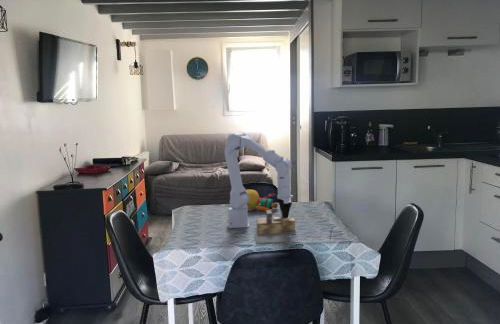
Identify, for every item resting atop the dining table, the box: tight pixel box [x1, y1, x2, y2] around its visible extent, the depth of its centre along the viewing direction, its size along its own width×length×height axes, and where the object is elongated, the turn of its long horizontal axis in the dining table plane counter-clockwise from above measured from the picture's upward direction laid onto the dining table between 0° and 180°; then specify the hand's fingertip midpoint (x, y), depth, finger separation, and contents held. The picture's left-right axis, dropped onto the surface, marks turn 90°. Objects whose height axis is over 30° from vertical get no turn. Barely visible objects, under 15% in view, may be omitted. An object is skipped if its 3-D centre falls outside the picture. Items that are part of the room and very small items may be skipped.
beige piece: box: [272, 210, 290, 221], centre depth 202 cm, size 7×3×4 cm, turn 92°
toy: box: [246, 189, 279, 212], centre depth 242 cm, size 19×11×25 cm
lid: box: [256, 210, 282, 225], centre depth 201 cm, size 11×9×6 cm
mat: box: [254, 232, 291, 245], centre depth 190 cm, size 14×12×1 cm
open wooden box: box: [256, 217, 296, 234], centre depth 202 cm, size 17×9×5 cm, turn 92°
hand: (284, 215), depth 202 cm, fingers open, 7 cm apart
